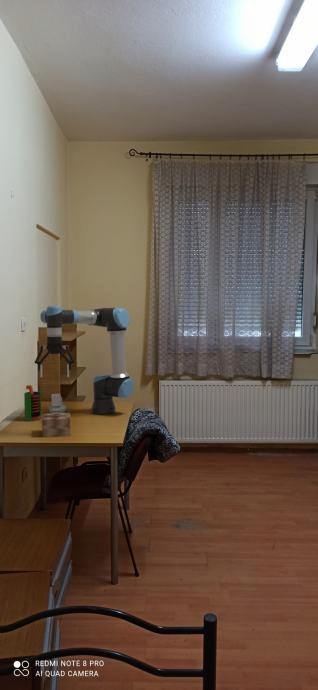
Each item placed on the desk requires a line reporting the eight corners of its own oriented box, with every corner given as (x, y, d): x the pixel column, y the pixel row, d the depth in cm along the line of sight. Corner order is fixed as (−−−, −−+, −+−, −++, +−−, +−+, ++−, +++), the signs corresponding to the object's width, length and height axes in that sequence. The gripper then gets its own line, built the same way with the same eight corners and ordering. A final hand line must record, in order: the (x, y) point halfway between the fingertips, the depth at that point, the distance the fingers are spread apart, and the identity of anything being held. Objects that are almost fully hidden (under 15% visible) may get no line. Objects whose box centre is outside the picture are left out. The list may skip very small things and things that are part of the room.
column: (61, 431, 272) (60, 393, 271) (61, 433, 268) (60, 395, 266) (52, 431, 272) (51, 394, 270) (52, 433, 267) (51, 395, 265)
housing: (70, 429, 278) (70, 410, 277) (70, 435, 264) (69, 416, 263) (43, 430, 276) (43, 411, 275) (42, 437, 262) (41, 417, 261)
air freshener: (68, 412, 321) (67, 396, 321) (64, 415, 313) (64, 398, 312) (51, 411, 322) (50, 396, 322) (46, 414, 314) (46, 398, 313)
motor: (35, 421, 296) (35, 387, 294) (21, 421, 298) (20, 386, 296) (43, 417, 306) (42, 384, 304) (29, 417, 308) (28, 384, 306)
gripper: (78, 335, 272) (79, 375, 274) (30, 335, 268) (30, 376, 270) (78, 336, 265) (79, 377, 266) (28, 336, 261) (29, 378, 262)
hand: (54, 377), depth 268 cm, fingers open, 13 cm apart
